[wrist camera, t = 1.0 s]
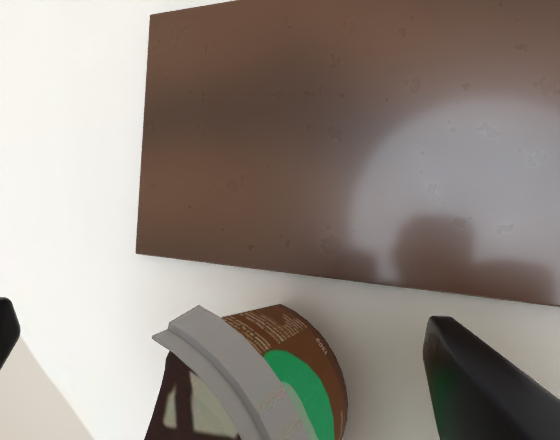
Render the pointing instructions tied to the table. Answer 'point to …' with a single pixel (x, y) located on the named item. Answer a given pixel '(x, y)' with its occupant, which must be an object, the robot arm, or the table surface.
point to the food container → (248, 379)
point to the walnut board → (359, 142)
